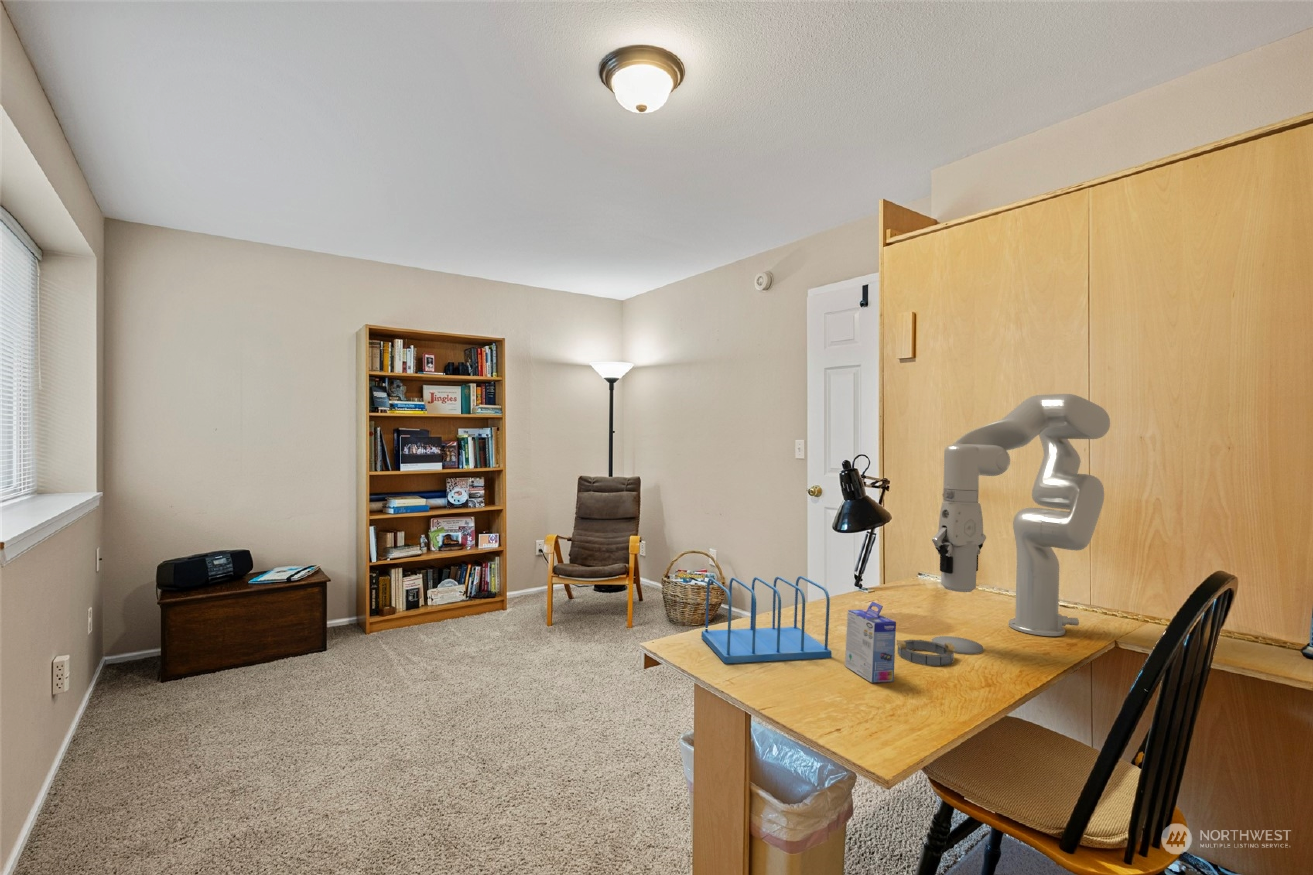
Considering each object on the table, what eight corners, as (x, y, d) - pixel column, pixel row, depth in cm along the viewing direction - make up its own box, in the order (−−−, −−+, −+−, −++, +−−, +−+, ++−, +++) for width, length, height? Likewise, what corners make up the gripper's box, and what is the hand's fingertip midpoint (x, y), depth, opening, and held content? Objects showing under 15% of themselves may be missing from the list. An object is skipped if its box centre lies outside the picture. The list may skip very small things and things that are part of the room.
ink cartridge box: (896, 682, 124) (898, 609, 124) (872, 684, 123) (874, 611, 123) (866, 664, 134) (868, 597, 134) (843, 666, 132) (845, 598, 132)
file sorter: (724, 665, 132) (726, 593, 132) (700, 639, 149) (702, 575, 149) (832, 658, 137) (833, 589, 137) (797, 634, 154) (798, 572, 154)
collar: (944, 649, 144) (944, 637, 144) (962, 667, 133) (962, 653, 133) (891, 646, 146) (891, 634, 146) (904, 663, 135) (905, 650, 135)
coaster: (972, 640, 152) (972, 637, 152) (991, 655, 141) (991, 653, 141) (925, 637, 153) (925, 635, 153) (940, 652, 142) (940, 650, 142)
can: (982, 593, 144) (983, 541, 144) (949, 592, 144) (951, 540, 144) (966, 585, 151) (967, 536, 151) (935, 585, 151) (936, 535, 151)
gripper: (946, 499, 140) (945, 577, 140) (1000, 497, 147) (998, 572, 147) (920, 496, 147) (918, 570, 147) (973, 494, 154) (971, 566, 154)
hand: (958, 570), depth 147 cm, fingers closed on can, 7 cm apart
